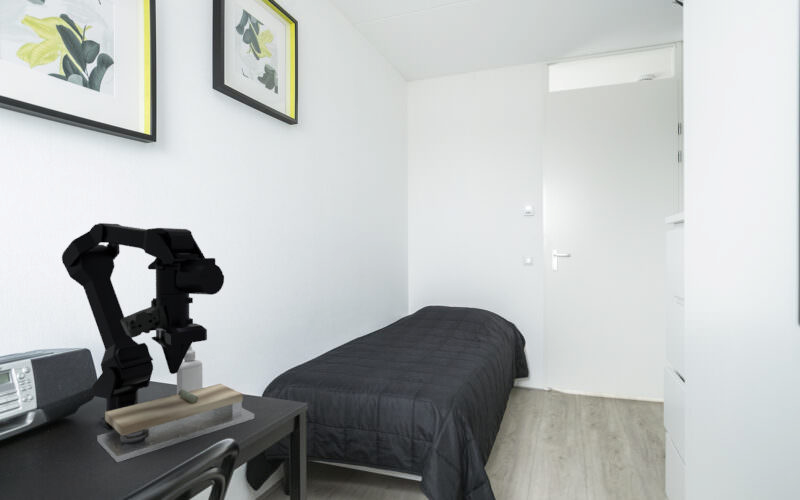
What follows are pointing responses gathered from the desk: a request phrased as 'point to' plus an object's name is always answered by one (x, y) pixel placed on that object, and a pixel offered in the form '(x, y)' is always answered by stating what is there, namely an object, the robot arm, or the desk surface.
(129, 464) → the desk surface
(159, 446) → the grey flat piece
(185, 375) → the eye dropper bottle
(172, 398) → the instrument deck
